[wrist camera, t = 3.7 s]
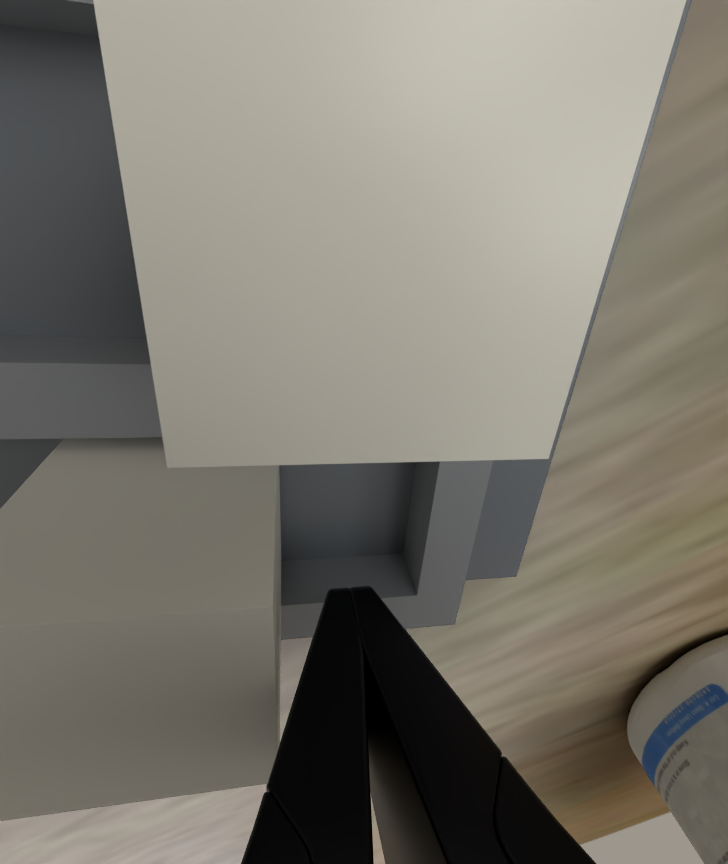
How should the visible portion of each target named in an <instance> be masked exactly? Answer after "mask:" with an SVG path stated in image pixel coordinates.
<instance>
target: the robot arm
mask: <svg viewBox="0 0 728 864" xmlns="http://www.w3.org/2000/svg"><path fill="white" fill-rule="evenodd" d="M501 755H502V753H501V751H500V749H499V748H498V747H497V745H496V744H495V743H494V742H493V740H492V739H491V738H490V737H489V735H488V734H487V733H486V731H485V730H484V729H483V728H482V726H481V725H480V724H479V723H478V721H477V720H476V719H475V717H474V716H473V715H472V714H471V712H470V711H469V710H468V709H467V707H466V706H465V705H464V704H463V702H462V701H461V700H460V698H459V697H458V696H457V695H456V693H455V692H454V691H453V690H452V688H451V687H450V686H449V684H448V683H447V682H446V681H445V679H444V678H443V677H442V676H441V674H440V673H439V672H438V670H437V669H436V668H435V667H434V665H433V664H432V663H431V662H430V660H429V659H428V658H427V656H426V655H425V654H424V653H423V651H422V650H421V649H420V648H419V646H418V645H417V644H416V642H415V641H414V640H413V639H412V637H411V636H410V635H409V634H408V632H407V631H406V630H405V629H404V627H403V626H402V625H401V623H400V622H399V621H398V620H397V618H396V617H395V616H394V615H393V613H392V612H391V611H390V609H389V608H388V607H387V606H386V604H385V603H384V602H383V601H382V599H381V598H380V597H379V595H378V594H377V593H376V592H375V590H374V589H373V588H372V587H370V586H358V587H351V588H350V589H349V588H347V587H345V588H332V589H329V590H328V591H327V594H326V597H325V600H324V603H323V607H322V610H321V613H320V616H319V620H318V623H317V626H316V629H315V632H314V636H313V639H312V642H311V645H310V648H309V652H308V655H307V658H306V661H305V665H304V668H303V671H302V674H301V677H300V681H299V684H298V687H297V690H296V694H295V697H294V700H293V703H292V706H291V710H290V713H289V716H288V719H287V722H286V726H285V729H284V732H283V735H282V739H281V742H280V745H279V748H278V751H277V755H276V758H275V761H274V764H273V767H272V771H271V774H270V777H269V780H268V784H267V787H266V789H267V792H266V793H264V795H263V798H262V802H261V805H260V808H259V811H258V815H257V818H256V821H255V824H254V827H253V830H252V833H251V836H250V839H249V842H248V845H247V848H246V851H245V854H244V857H243V860H242V862H241V864H373V841H372V818H371V797H372V802H373V806H374V811H375V816H376V821H377V825H378V830H379V835H380V840H381V844H382V849H383V854H384V859H385V864H596V863H595V862H594V861H593V860H592V858H591V857H590V856H589V855H588V854H587V853H586V852H585V851H584V850H583V849H582V847H581V846H580V845H579V844H578V843H577V842H576V841H575V840H574V838H573V837H572V836H571V835H570V834H569V833H568V832H567V831H566V830H565V828H564V827H563V826H562V825H561V824H560V823H559V822H558V821H557V820H556V818H555V817H554V816H553V815H552V814H551V812H550V811H549V810H548V809H547V808H546V806H545V805H544V804H543V803H542V801H541V800H540V799H539V798H538V797H537V795H536V794H535V793H534V792H533V791H532V789H531V788H530V787H529V786H528V785H527V783H526V782H525V781H524V780H523V778H522V777H521V776H520V774H519V773H518V772H517V771H516V769H515V768H514V767H513V765H512V764H511V763H510V762H509V760H508V759H507V758H506V757H504V756H503V757H502V758H501ZM370 792H371V796H370Z"/></svg>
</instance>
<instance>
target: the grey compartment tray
mask: <svg viewBox="0 0 728 864" xmlns="http://www.w3.org/2000/svg"><path fill="white" fill-rule="evenodd" d="M691 1H692V0H686V3H685V7H684V10H683V13H682V17H681V20H680V23H679V27H678V30H677V33H676V36H675V40H674V43H673V46H672V50H671V53H670V56H669V60H668V63H667V66H666V70H665V73H664V76H663V80H662V83H661V86H660V90H659V93H658V96H657V100H656V103H655V106H654V110H653V113H652V116H651V120H650V123H649V126H648V130H647V133H646V136H645V140H644V143H643V146H642V150H641V153H640V156H639V160H638V163H637V166H636V170H635V173H634V176H633V180H632V183H631V186H630V190H629V193H628V196H627V200H626V203H625V206H624V209H623V213H622V216H621V219H620V223H619V226H618V229H617V233H616V236H615V239H614V243H613V246H612V249H611V253H610V256H609V259H608V263H607V266H606V269H605V273H604V276H603V279H602V283H601V286H600V289H599V293H598V296H597V299H596V303H595V306H594V309H593V313H592V316H591V319H590V323H589V326H588V329H587V333H586V336H585V339H584V343H583V346H582V349H581V353H580V356H579V359H578V363H577V366H576V369H575V373H574V376H573V379H572V382H571V386H570V389H569V392H568V396H567V399H566V402H565V406H564V409H563V412H562V416H561V419H560V422H559V426H558V429H557V432H556V436H555V439H554V442H553V446H552V449H551V452H550V456H549V459H522V460H479V461H437V462H394V463H351V464H309V465H279V476H280V521H281V640H283V639H294V638H306V637H313V636H314V632H315V629H316V626H317V623H318V620H319V616H320V613H321V610H322V607H323V603H324V600H325V597H326V594H327V591H328V590H329V589H332V588H345V587H347V588H349V589H350V588H351V587H358V586H370V587H372V588H373V589H374V590H375V592H376V593H377V594H378V595H379V597H380V598H381V599H382V601H383V602H384V603H385V604H386V606H387V607H388V608H389V609H390V611H391V612H392V613H393V615H394V616H395V617H396V618H397V620H398V621H399V622H400V623H401V625H402V626H403V627H404V629H408V628H419V627H431V626H442V625H453V624H455V621H456V617H457V613H458V609H459V604H460V600H461V596H462V592H463V587H464V583H465V580H474V579H488V578H502V577H516V575H517V572H518V569H519V566H520V562H521V559H522V556H523V552H524V549H525V546H526V543H527V539H528V536H529V533H530V529H531V526H532V523H533V520H534V516H535V513H536V510H537V506H538V503H539V500H540V497H541V493H542V490H543V487H544V483H545V480H546V477H547V474H548V470H549V467H550V464H551V460H552V457H553V454H554V451H555V447H556V444H557V441H558V438H559V434H560V431H561V428H562V424H563V421H564V418H565V415H566V411H567V408H568V405H569V401H570V398H571V395H572V392H573V388H574V385H575V382H576V378H577V375H578V372H579V369H580V365H581V362H582V359H583V355H584V352H585V349H586V346H587V342H588V339H589V336H590V333H591V329H592V326H593V323H594V319H595V316H596V313H597V310H598V306H599V303H600V300H601V296H602V293H603V290H604V287H605V283H606V280H607V277H608V273H609V270H610V267H611V264H612V260H613V257H614V254H615V250H616V247H617V244H618V241H619V237H620V234H621V231H622V227H623V224H624V221H625V218H626V214H627V211H628V208H629V205H630V201H631V198H632V195H633V191H634V188H635V185H636V182H637V178H638V175H639V172H640V168H641V165H642V162H643V159H644V155H645V152H646V149H647V145H648V142H649V139H650V136H651V132H652V129H653V126H654V122H655V119H656V116H657V113H658V109H659V106H660V103H661V99H662V96H663V93H664V90H665V86H666V83H667V80H668V77H669V73H670V70H671V67H672V63H673V60H674V57H675V54H676V50H677V47H678V44H679V40H680V37H681V34H682V31H683V27H684V24H685V21H686V17H687V14H688V11H689V8H690V4H691ZM149 437H162V431H161V425H160V419H159V413H158V406H157V400H156V394H155V387H154V381H153V375H152V368H151V362H150V356H149V349H148V343H147V337H146V330H145V324H144V318H143V311H142V305H141V299H140V293H139V286H138V280H137V274H136V267H135V261H134V255H133V248H132V242H131V236H130V229H129V223H128V217H127V210H126V204H125V198H124V191H123V185H122V179H121V173H120V166H119V160H118V154H117V147H116V141H115V135H114V128H113V122H112V116H111V109H110V103H109V97H108V90H107V84H106V78H105V71H104V65H103V59H102V53H101V46H100V40H99V34H98V27H97V21H96V15H95V8H94V2H93V0H0V509H1V508H2V506H3V505H4V504H5V503H6V502H7V501H8V500H9V499H10V498H11V496H12V495H13V494H14V493H15V492H16V491H17V490H18V489H19V488H20V487H21V485H22V484H23V483H24V482H25V481H26V480H27V479H28V478H29V477H30V475H31V474H32V473H33V472H34V471H35V470H36V469H37V468H38V467H39V466H40V464H41V463H42V462H43V461H44V460H45V459H46V458H47V457H48V456H49V454H50V453H51V452H52V451H53V450H54V449H55V448H56V447H57V446H58V445H59V443H60V442H61V441H62V440H63V439H70V438H149Z"/></svg>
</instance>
